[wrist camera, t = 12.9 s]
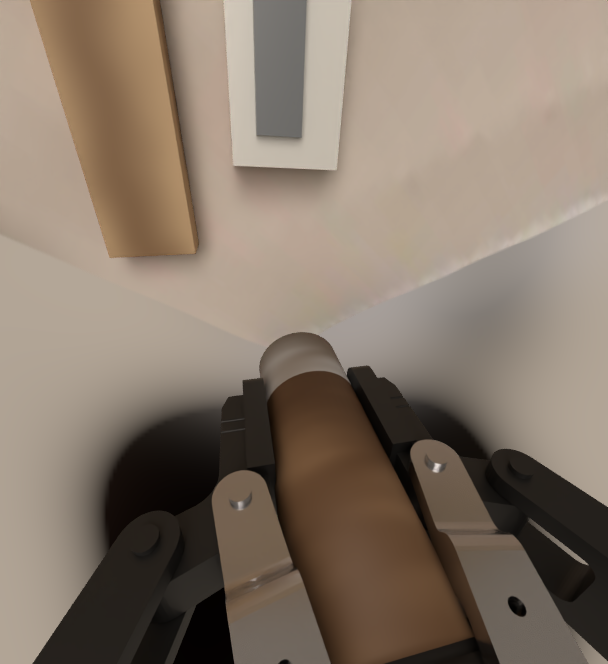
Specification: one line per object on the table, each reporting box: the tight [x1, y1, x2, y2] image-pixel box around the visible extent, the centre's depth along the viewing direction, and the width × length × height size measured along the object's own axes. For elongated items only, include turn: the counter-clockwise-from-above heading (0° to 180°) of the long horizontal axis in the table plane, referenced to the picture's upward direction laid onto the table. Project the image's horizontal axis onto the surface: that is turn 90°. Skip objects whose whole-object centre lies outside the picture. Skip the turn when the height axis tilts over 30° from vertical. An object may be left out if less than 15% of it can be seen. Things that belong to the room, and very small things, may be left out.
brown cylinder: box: [259, 332, 475, 664], centre depth 9 cm, size 3×3×9 cm
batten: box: [30, 0, 199, 258], centre depth 16 cm, size 5×16×2 cm, turn 0°
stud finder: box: [223, 0, 352, 170], centre depth 17 cm, size 6×9×4 cm, turn 178°
